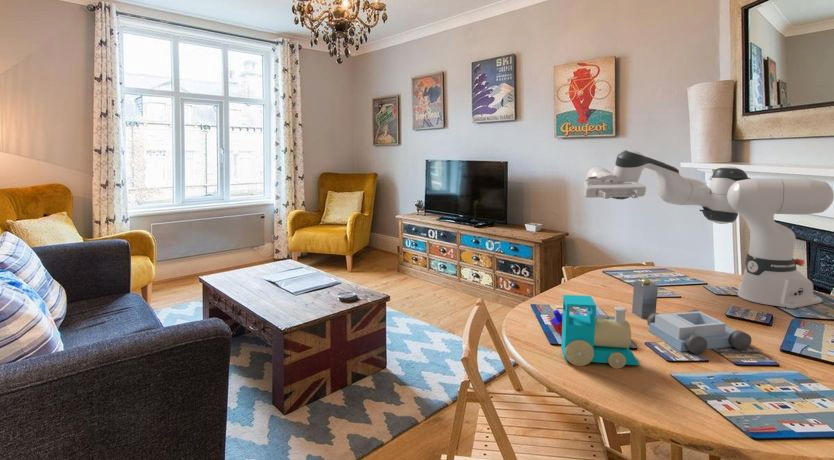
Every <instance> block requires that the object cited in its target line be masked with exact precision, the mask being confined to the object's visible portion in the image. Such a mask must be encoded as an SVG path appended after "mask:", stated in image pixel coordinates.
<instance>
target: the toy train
mask: <svg viewBox="0 0 834 460" xmlns="http://www.w3.org/2000/svg"><path fill="white" fill-rule="evenodd" d="M562 298H563V299H562V313H563V317H562V335H561V340H560V341H561V346H560V347H561V352H562V355H563V359H564V361H568V362H569V363H570V364H572V365H573V366H574V365H575V366H578V367H579V366H580V367H581V366H583V367H584V366H586V365H588V364H590V363H604V364H609V365H610V367H612V368H613V369H621V368H623V367H625V365H630V366H631V365H632V366H633V365H634V366H641V364H640V362H639V360H637V357H636V356H635V355H634V353H633V351H632V350H631V349H630V347H631V343H632V329H631V325H630V322H629V321H628V320H626V311H627V310H628V309H627V308H625V307H624V306H616V307H614V310H615V311H614V317H615V320H610V319H597V317H596V314H597V304H596V303H595V301H594V299H593V297H592V295H575V294H563V296H562ZM570 308H587V313H586V315H583V314H582V315H581V314H580V315H579V314H570Z"/></svg>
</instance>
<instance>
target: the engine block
mask: <svg viewBox="0 0 834 460" xmlns="http://www.w3.org/2000/svg"><path fill="white" fill-rule="evenodd" d="M658 288H659V285H658V284H656V283H655V282H652V281H651V280H650V279H649V278H648V279H647V278H643V279H641V280H637V281H635V280H634V281H633V291H632V293H633V295H632V308H631V313H632V314H633V315H634V316H636V317H637V318H640V319H648V317H649V316H650V315H651V314H652V313H657V302H658V301H657V300H658Z"/></svg>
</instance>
